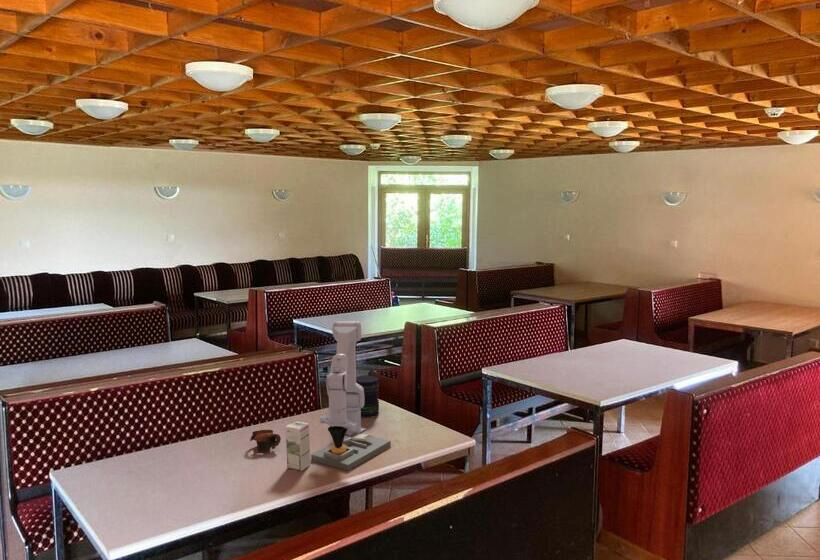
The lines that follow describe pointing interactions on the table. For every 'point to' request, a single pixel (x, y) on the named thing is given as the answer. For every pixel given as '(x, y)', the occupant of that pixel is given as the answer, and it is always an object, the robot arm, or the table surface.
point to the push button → (338, 449)
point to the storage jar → (369, 395)
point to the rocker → (362, 437)
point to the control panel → (351, 452)
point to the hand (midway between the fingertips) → (338, 446)
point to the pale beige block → (347, 441)
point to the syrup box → (298, 445)
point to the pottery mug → (265, 441)
